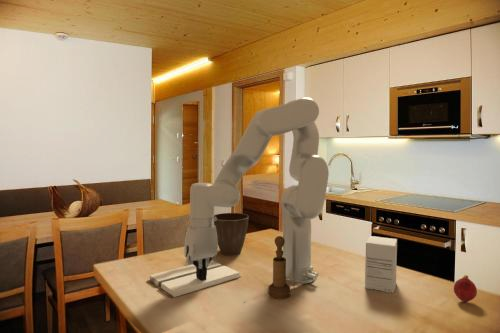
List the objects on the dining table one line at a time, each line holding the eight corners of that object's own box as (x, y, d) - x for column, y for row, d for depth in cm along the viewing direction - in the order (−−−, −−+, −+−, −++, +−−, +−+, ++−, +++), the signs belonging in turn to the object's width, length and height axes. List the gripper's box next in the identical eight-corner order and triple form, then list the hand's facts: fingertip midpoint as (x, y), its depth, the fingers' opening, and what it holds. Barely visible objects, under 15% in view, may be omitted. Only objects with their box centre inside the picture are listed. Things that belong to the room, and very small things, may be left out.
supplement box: (368, 278, 123) (369, 235, 122) (396, 283, 119) (397, 238, 118) (363, 288, 115) (365, 242, 113) (394, 293, 111) (395, 245, 110)
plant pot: (204, 256, 146) (204, 217, 145) (227, 247, 158) (227, 211, 157) (234, 263, 137) (233, 222, 136) (255, 253, 150) (255, 215, 148)
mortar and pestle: (275, 301, 106) (275, 240, 104) (264, 292, 111) (264, 235, 110) (294, 296, 109) (294, 237, 107) (282, 288, 114) (283, 232, 113)
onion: (476, 308, 101) (477, 280, 100) (452, 303, 104) (453, 276, 103) (476, 300, 106) (477, 274, 105) (453, 296, 109) (454, 270, 108)
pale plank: (239, 277, 120) (239, 272, 120) (174, 297, 105) (174, 291, 105) (224, 269, 127) (224, 265, 127) (161, 287, 112) (161, 282, 112)
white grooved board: (241, 280, 121) (241, 272, 121) (171, 302, 105) (171, 293, 104) (213, 266, 134) (213, 259, 134) (147, 284, 118) (146, 275, 117)
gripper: (215, 217, 121) (214, 270, 122) (174, 223, 111) (174, 281, 113) (228, 221, 115) (227, 277, 116) (187, 228, 106) (186, 288, 107)
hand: (201, 279), depth 115 cm, fingers closed
